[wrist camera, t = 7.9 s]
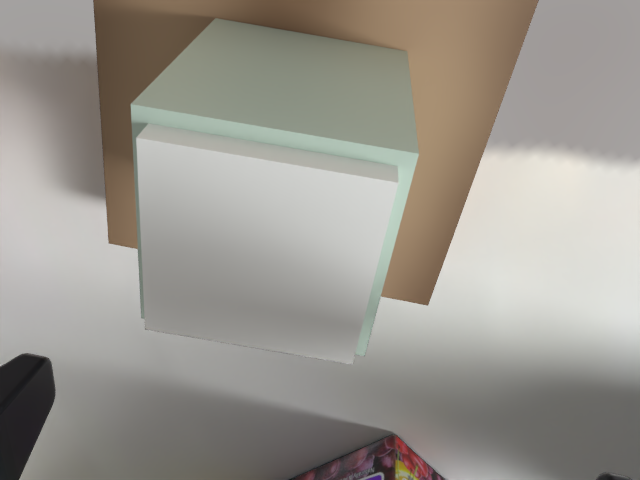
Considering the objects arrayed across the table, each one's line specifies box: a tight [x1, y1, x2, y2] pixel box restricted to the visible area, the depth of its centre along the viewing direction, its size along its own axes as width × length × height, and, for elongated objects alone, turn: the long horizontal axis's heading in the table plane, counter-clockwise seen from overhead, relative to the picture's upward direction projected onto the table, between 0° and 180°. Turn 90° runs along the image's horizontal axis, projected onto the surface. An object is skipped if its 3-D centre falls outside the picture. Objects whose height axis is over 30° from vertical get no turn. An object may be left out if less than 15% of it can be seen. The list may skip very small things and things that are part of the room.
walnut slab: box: [93, 0, 539, 305], centre depth 17 cm, size 11×11×3 cm
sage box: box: [131, 18, 419, 365], centre depth 13 cm, size 5×5×7 cm
